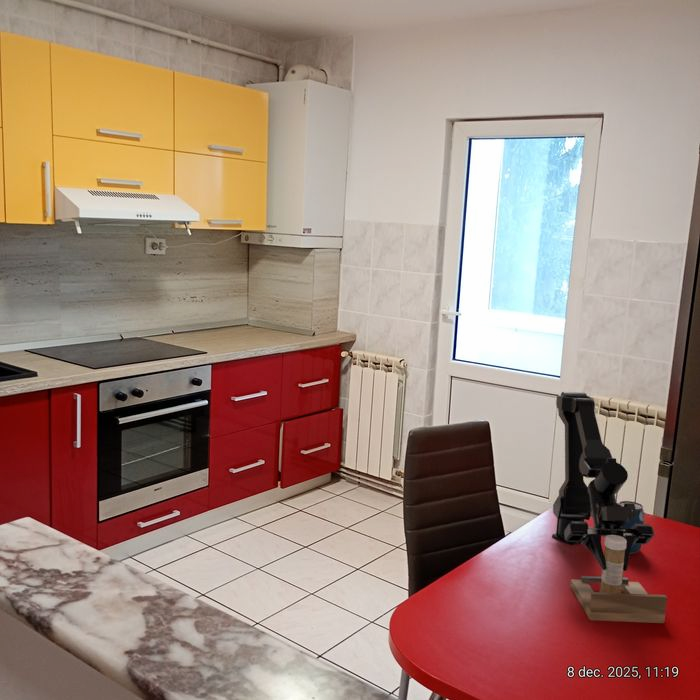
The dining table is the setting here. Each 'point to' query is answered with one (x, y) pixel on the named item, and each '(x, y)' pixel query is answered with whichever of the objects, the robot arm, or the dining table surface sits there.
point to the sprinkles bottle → (613, 564)
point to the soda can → (634, 522)
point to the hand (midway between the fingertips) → (614, 570)
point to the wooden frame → (619, 602)
